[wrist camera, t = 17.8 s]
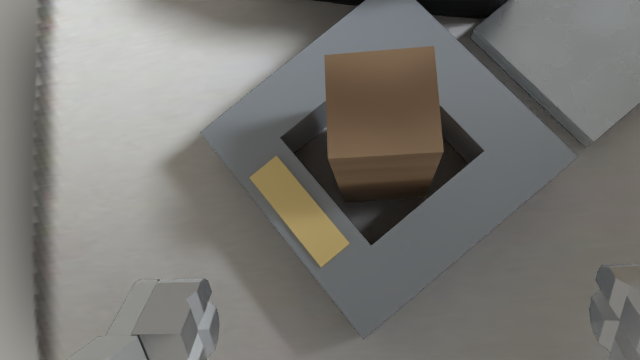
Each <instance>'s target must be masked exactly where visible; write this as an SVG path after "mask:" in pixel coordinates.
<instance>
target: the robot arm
mask: <svg viewBox="0 0 640 360" xmlns="http://www.w3.org/2000/svg"><path fill="white" fill-rule="evenodd" d="M596 282H597V284H598V285H599V287H600V290H599V291H598V292H596V293H595V294H594V295H593V296H592V297H591V303H590V308H589V312H590V323H591V326H592V329H593V333H594V335H595V337H596V339H597V341H598V343H599V344H601V345H602V346H603V347H605V348H606V349H608V350H609V351H611V352H610V356H609V360H640V264H617V265H602V266H601V267H600V268H599V270H598V272H597V276H596ZM211 292H212V291H211V288H210V285H209V282H208V280H206V279H161V280H139V281H137V282H136V283H135V284H134V285H133V287H132V289H131V290H130V292H129V294H128V296H127V298H126V299H125V301H124V303H123V305H122V307H121V309H120V310H119V312H118V314H117V316H116V318H115V319H114V321H113V323H112V325H111V327H110V329H109V330H108V332H107V334H106V336H99V337H97V338H96V339H94V340H93V341H92V342H90V343H89V344H88V345H86V346H85V347H83V348H82V349H81V350H79V351H78V352H77V353H75V354H74V355H72V356H71V357H70V358H68V359H67V360H207V357H208V356H209V355H210V354H211V353H212V352H213V351H214V350H215V348H216V345H217V341H218V335H219V317H218V312H217V309H216V306H214V305H213V304H212V303H211V302H209V298H210V295H211Z"/></svg>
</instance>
